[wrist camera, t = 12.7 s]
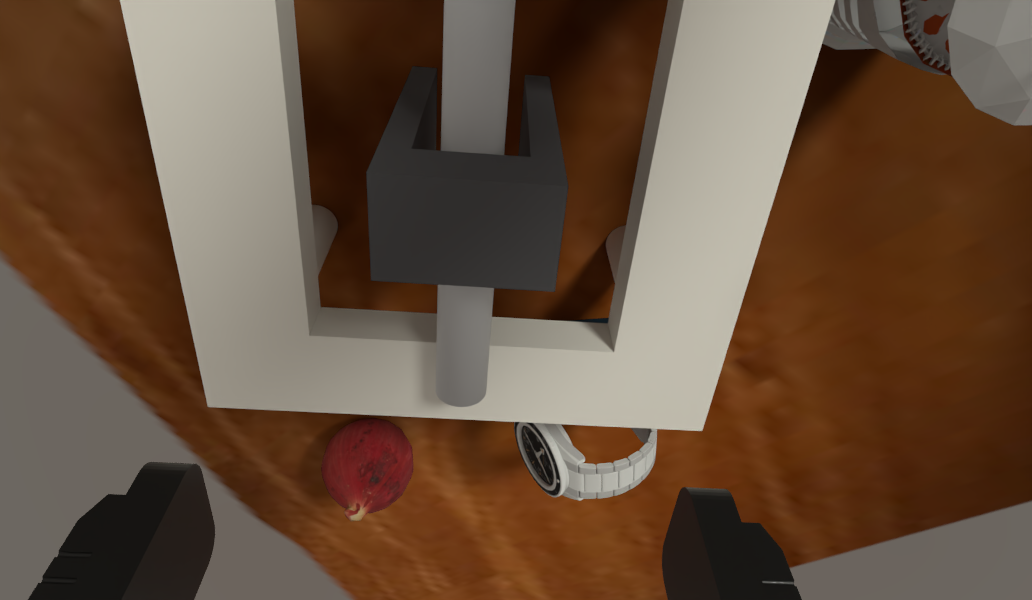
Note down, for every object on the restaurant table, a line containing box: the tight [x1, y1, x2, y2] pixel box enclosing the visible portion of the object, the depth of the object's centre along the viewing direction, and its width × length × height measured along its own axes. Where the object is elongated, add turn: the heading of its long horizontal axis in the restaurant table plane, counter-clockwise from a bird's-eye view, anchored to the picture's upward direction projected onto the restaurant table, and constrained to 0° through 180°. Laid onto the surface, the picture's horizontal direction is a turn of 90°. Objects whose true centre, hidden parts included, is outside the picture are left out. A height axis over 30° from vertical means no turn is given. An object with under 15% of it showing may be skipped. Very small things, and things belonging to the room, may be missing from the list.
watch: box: [514, 318, 657, 500], centre depth 41 cm, size 6×8×11 cm
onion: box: [321, 418, 413, 521], centre depth 45 cm, size 6×6×8 cm
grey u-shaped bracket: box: [366, 66, 568, 292], centre depth 25 cm, size 6×4×11 cm, turn 86°
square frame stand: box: [120, 0, 835, 431], centre depth 29 cm, size 21×22×16 cm
